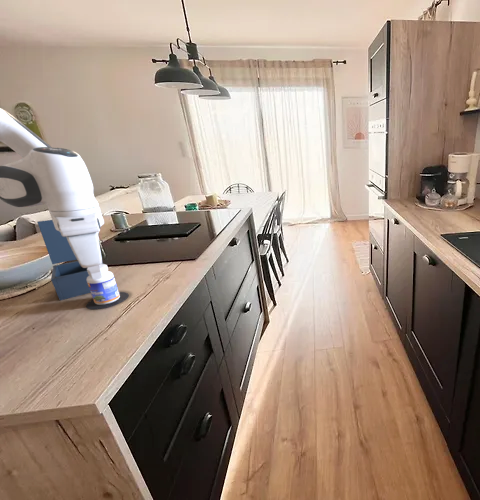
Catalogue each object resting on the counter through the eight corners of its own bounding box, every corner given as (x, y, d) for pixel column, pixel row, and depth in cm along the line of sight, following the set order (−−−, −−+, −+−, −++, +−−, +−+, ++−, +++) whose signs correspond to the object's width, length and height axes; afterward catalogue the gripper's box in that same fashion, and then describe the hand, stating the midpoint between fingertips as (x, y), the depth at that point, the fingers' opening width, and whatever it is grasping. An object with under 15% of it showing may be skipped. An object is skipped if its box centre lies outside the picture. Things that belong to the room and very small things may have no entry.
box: (110, 289, 83) (103, 267, 81) (60, 302, 77) (50, 279, 74) (107, 276, 91) (100, 256, 89) (61, 286, 85) (53, 265, 82)
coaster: (80, 314, 71) (79, 312, 71) (94, 297, 79) (94, 295, 79) (123, 306, 74) (123, 305, 74) (133, 291, 82) (132, 289, 82)
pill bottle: (89, 304, 75) (76, 270, 71) (110, 293, 80) (99, 261, 76) (105, 306, 74) (93, 272, 70) (125, 296, 78) (115, 263, 75)
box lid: (87, 215, 87) (87, 215, 87) (37, 221, 80) (37, 221, 81) (100, 255, 88) (100, 255, 89) (52, 264, 82) (52, 264, 82)
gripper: (62, 213, 74) (79, 262, 79) (59, 231, 60) (80, 290, 64) (94, 209, 78) (109, 257, 83) (98, 226, 63) (116, 281, 68)
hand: (96, 271), depth 73 cm, fingers open, 8 cm apart
